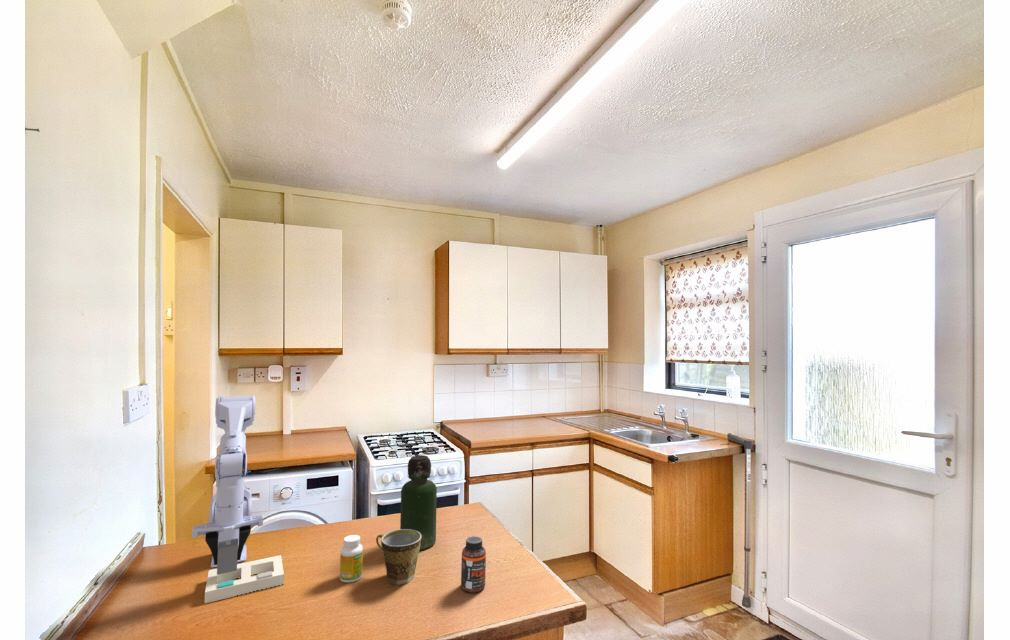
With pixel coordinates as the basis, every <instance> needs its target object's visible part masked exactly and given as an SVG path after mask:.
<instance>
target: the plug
mask: <svg viewBox="0 0 1010 640" xmlns="http://www.w3.org/2000/svg"><path fill="white" fill-rule="evenodd" d="M237 553H238V538H237V539H232V540H226V541H221V542H219V545H218V560H217V567H216V569H217V575H218V574H222V573H227V572H232V571H236V570H237V564H238V562H237Z"/></svg>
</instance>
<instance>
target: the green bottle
mask: <svg viewBox="0 0 1010 640" xmlns="http://www.w3.org/2000/svg"><path fill="white" fill-rule="evenodd" d="M431 473H432V461H431V459H430V458H429V456H428V455H423V454H421V455H413V456H411V458H410V459H409V460H408V463H407V475H408V479H409V480H408V481H406V482H405V483H404V484H403V486H402V487H401V489H400V519H399V520H400V522H399V523H400V526H399V527H400V529H411V530H415V531H418V532H419V533H420V534H421V544H420V549H419V551H421V550H425V549H428V548H431V547H432V546H434V544H435V543H436V541H437V499H438V498H437V491H438V490H437V485H436V484H435V482H433V481H432V480H430V479H429V478H430V477H431ZM400 529H399V530H400Z"/></svg>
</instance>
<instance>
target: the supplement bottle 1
mask: <svg viewBox="0 0 1010 640" xmlns="http://www.w3.org/2000/svg"><path fill="white" fill-rule="evenodd" d="M363 547H364V546H363V545H362V543H361V536H360V535H359V534H350V535H349V534H348V535H347V536H345V537H344V538H343V546H342V547H341V548H340V556H339V557H340V558H339V559H340V562H339V579H340V581H341V582H343V583H354V582H357V581H358V580H360V579H361V578H362V577H363V564H364V563H363V559H364V556H363V555H364V548H363Z"/></svg>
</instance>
